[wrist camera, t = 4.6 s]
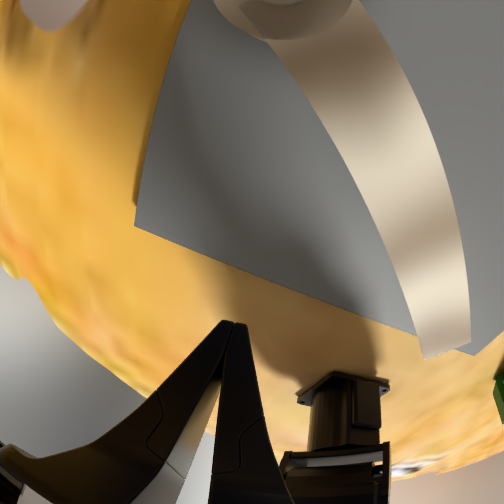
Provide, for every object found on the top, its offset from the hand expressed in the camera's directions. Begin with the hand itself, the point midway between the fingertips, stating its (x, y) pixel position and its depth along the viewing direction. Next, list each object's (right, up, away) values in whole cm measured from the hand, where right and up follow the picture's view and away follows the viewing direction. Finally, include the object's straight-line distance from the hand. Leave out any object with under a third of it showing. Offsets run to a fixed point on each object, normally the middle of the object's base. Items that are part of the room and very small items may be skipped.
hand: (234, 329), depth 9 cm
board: (+11, +10, -1) cm, 15 cm away
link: (+6, +6, +1) cm, 9 cm away
